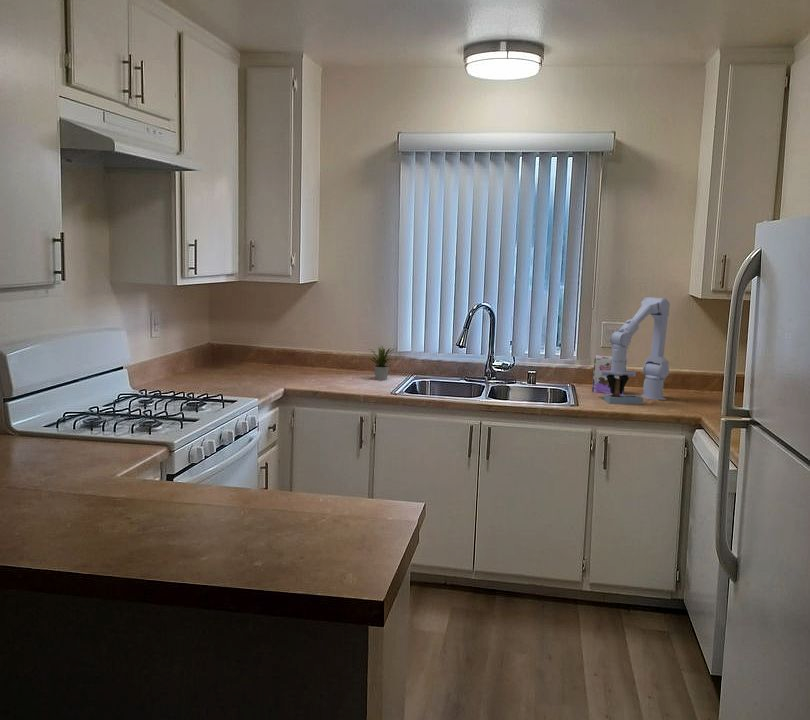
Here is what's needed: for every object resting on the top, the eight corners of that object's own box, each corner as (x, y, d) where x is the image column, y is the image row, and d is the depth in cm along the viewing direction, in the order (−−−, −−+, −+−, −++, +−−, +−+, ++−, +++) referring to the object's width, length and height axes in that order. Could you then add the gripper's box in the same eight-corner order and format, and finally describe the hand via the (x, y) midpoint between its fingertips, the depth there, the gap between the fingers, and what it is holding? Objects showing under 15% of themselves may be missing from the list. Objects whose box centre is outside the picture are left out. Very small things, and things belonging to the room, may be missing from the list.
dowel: (611, 399, 337) (612, 378, 336) (618, 399, 337) (619, 378, 336) (613, 401, 334) (614, 379, 333) (620, 401, 334) (621, 379, 333)
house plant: (405, 380, 372) (406, 345, 370) (381, 383, 364) (382, 347, 361) (385, 376, 383) (386, 342, 381) (362, 378, 374) (363, 343, 372)
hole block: (604, 401, 339) (604, 394, 338) (636, 402, 340) (637, 395, 339) (609, 404, 332) (609, 397, 332) (642, 405, 333) (643, 398, 333)
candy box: (591, 393, 358) (594, 356, 356) (592, 391, 364) (595, 354, 361) (623, 395, 354) (626, 358, 352) (624, 393, 360) (627, 357, 357)
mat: (597, 397, 347) (598, 396, 347) (620, 398, 348) (620, 397, 348) (603, 401, 339) (603, 400, 339) (626, 401, 340) (627, 400, 340)
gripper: (604, 361, 329) (602, 394, 331) (639, 362, 330) (636, 395, 332) (599, 359, 336) (596, 391, 338) (633, 360, 337) (630, 392, 339)
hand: (616, 393), depth 335 cm, fingers closed on dowel, 3 cm apart
